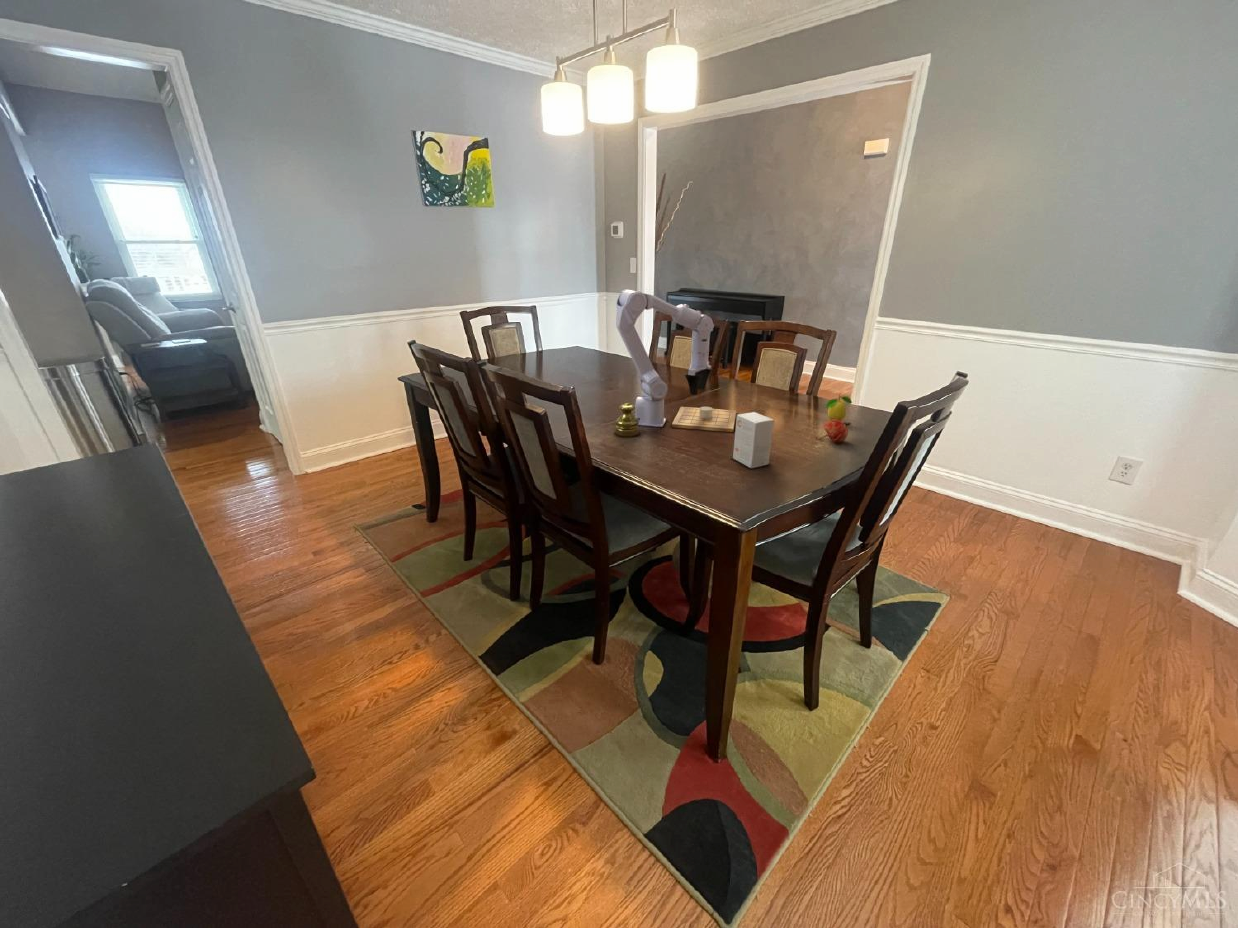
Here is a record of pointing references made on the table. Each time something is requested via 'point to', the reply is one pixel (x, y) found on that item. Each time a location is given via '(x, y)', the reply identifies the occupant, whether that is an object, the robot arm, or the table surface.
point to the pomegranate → (836, 430)
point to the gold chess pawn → (627, 421)
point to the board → (705, 420)
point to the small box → (753, 439)
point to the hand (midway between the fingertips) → (697, 391)
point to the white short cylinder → (705, 412)
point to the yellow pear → (837, 408)
